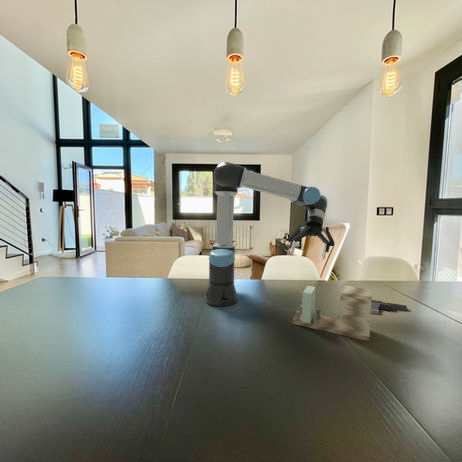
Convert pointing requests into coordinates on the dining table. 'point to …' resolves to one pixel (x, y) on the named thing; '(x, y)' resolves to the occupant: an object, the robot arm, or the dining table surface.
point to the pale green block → (308, 304)
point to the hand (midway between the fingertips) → (306, 255)
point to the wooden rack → (345, 315)
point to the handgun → (386, 306)
